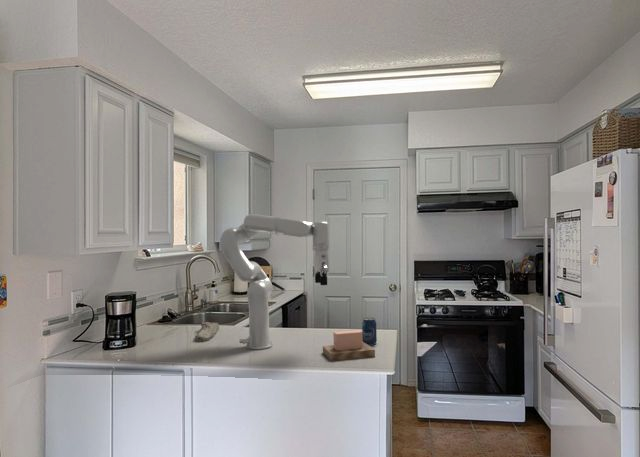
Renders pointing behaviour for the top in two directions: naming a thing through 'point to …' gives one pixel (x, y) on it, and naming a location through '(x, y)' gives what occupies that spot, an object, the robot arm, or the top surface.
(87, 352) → the top surface
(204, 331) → the elongated rock
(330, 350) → the walnut stand
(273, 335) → the top surface
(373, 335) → the soda can
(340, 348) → the terracotta block
